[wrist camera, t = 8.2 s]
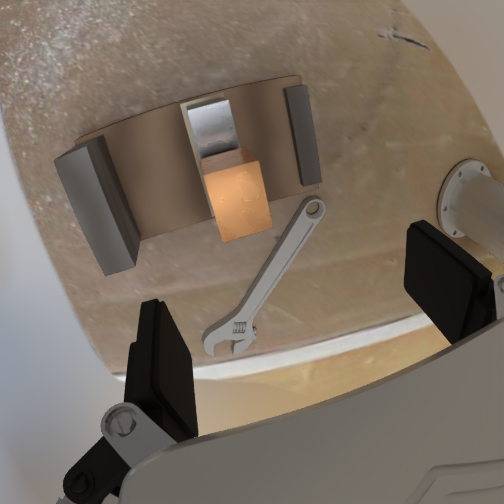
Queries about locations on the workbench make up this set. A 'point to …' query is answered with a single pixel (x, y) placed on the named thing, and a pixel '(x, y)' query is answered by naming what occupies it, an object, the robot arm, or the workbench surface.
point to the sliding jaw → (229, 171)
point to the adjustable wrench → (264, 283)
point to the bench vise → (182, 166)
